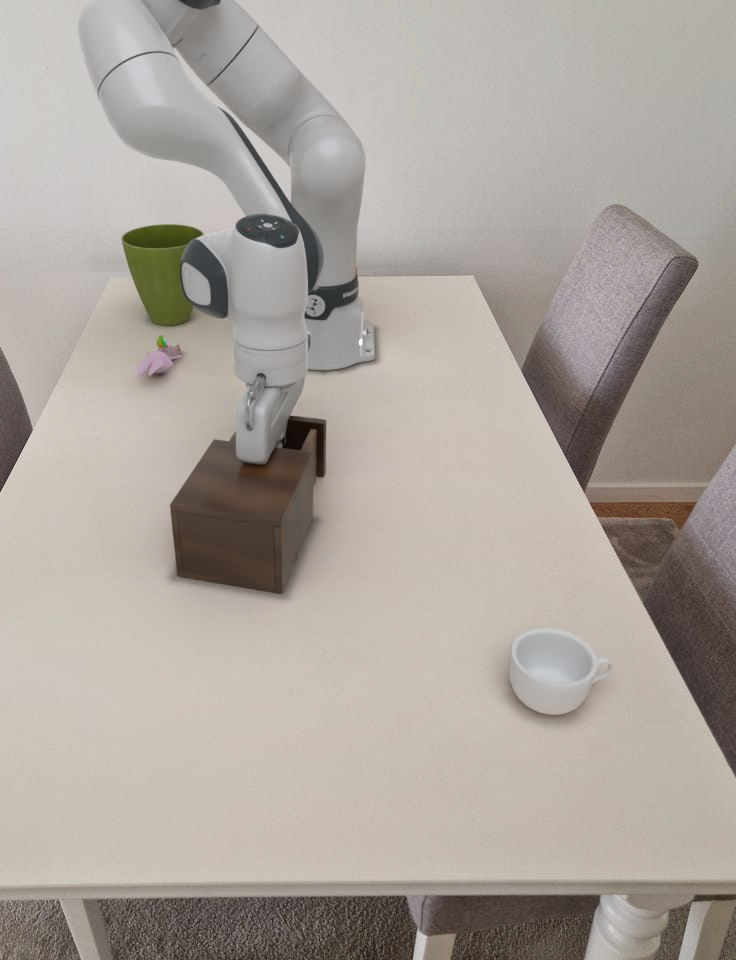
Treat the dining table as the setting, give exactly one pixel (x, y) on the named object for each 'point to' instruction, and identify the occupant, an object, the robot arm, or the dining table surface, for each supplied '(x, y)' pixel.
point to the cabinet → (243, 517)
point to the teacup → (554, 670)
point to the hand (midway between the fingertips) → (272, 456)
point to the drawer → (306, 440)
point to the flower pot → (160, 269)
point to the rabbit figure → (159, 358)
